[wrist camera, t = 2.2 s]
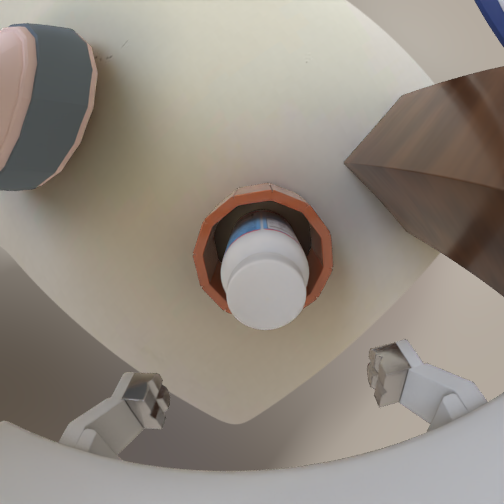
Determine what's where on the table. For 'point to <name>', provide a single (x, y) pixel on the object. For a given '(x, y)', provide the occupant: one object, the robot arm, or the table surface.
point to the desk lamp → (42, 101)
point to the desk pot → (205, 245)
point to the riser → (444, 169)
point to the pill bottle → (264, 271)
